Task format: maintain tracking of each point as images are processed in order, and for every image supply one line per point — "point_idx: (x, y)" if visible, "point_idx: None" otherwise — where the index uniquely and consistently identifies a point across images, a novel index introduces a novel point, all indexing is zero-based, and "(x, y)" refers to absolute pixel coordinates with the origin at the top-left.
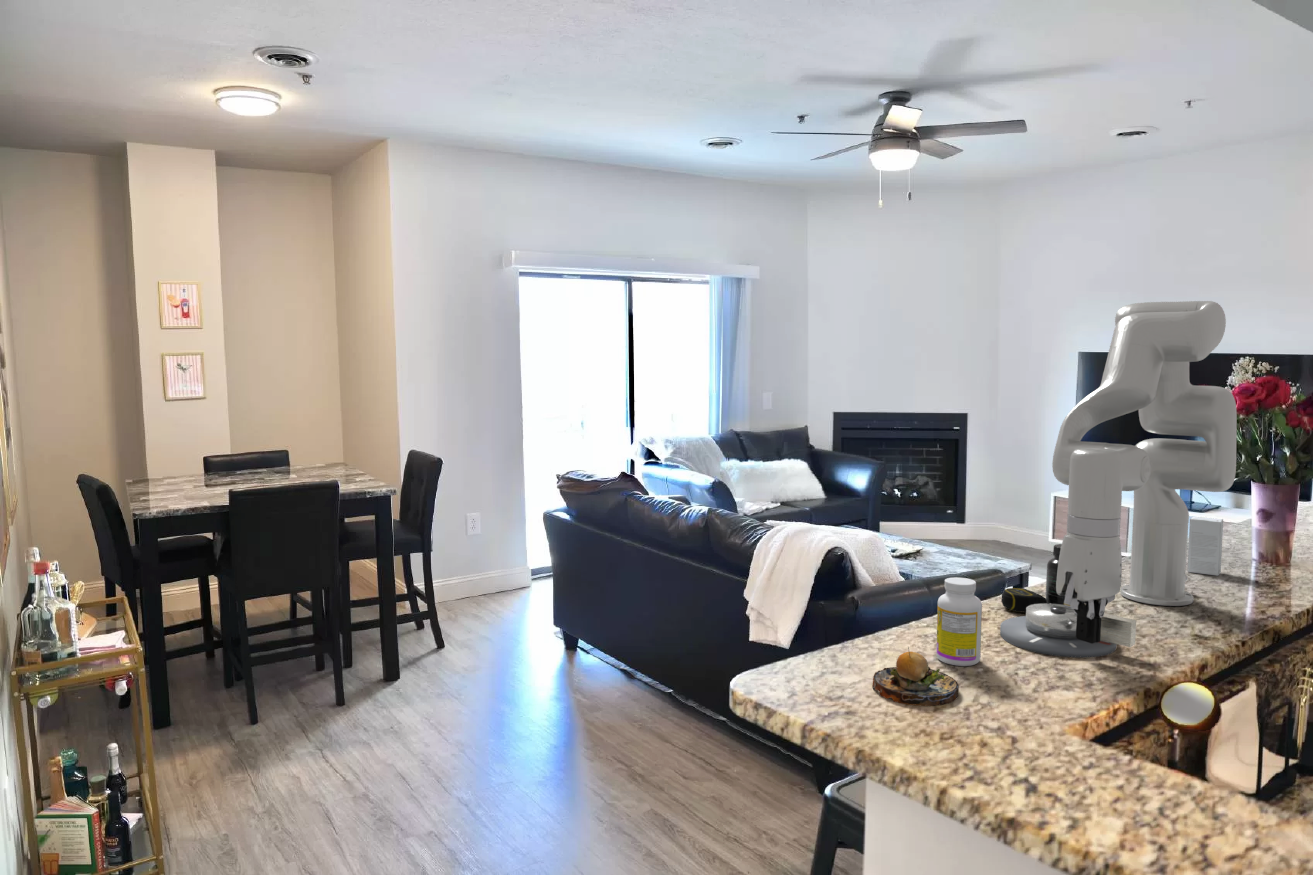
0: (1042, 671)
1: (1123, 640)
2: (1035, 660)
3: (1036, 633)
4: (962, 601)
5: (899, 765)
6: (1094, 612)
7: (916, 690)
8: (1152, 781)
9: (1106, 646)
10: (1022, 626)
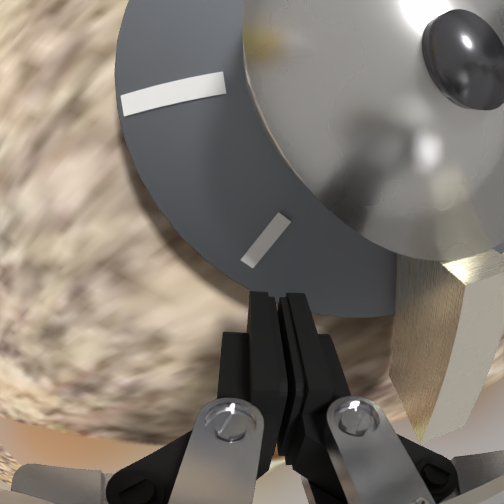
0: (30, 282)
1: (398, 371)
2: (68, 203)
3: None
4: None
5: None
6: (300, 470)
7: None
8: (13, 468)
9: (368, 317)
10: None
